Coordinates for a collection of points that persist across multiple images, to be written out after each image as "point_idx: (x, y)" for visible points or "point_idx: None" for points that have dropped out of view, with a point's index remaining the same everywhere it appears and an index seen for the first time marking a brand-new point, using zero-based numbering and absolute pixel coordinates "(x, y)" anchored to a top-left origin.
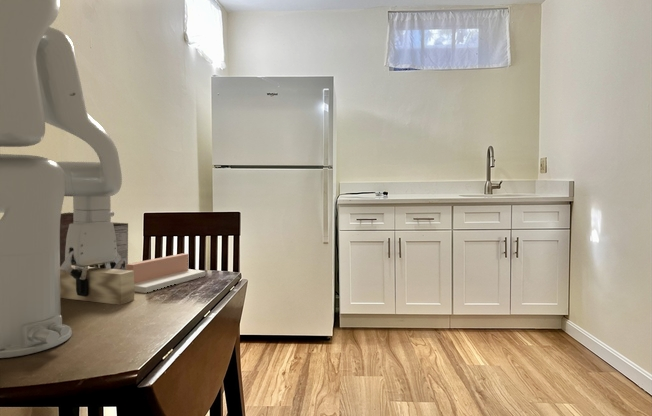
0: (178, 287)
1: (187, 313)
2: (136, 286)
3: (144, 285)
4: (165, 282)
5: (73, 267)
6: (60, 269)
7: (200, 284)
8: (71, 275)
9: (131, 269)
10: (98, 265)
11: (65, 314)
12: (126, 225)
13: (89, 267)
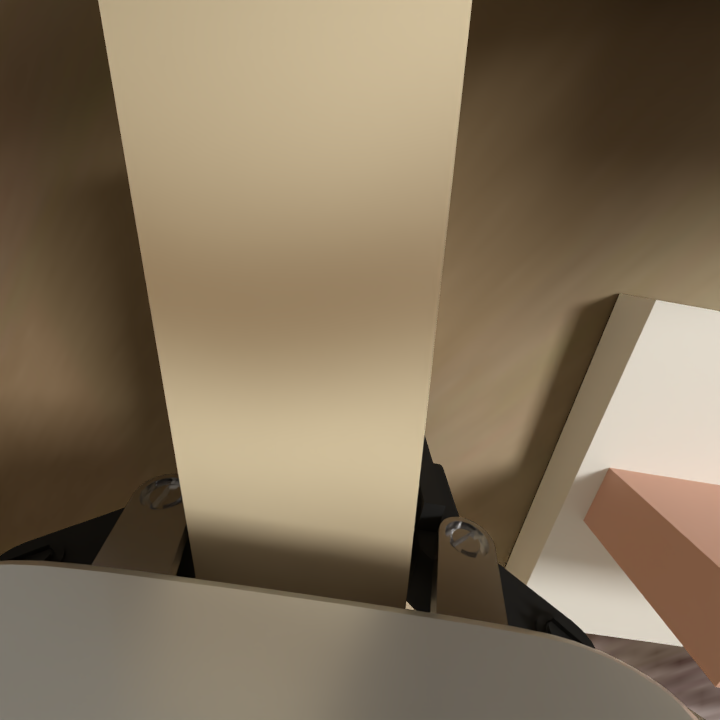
0: (630, 651)
1: None
2: (531, 564)
3: (549, 597)
4: (648, 637)
5: (313, 283)
6: (131, 175)
7: (697, 699)
8: (83, 526)
9: (678, 618)
10: (434, 607)
11: (88, 508)
12: None
13: (386, 503)
